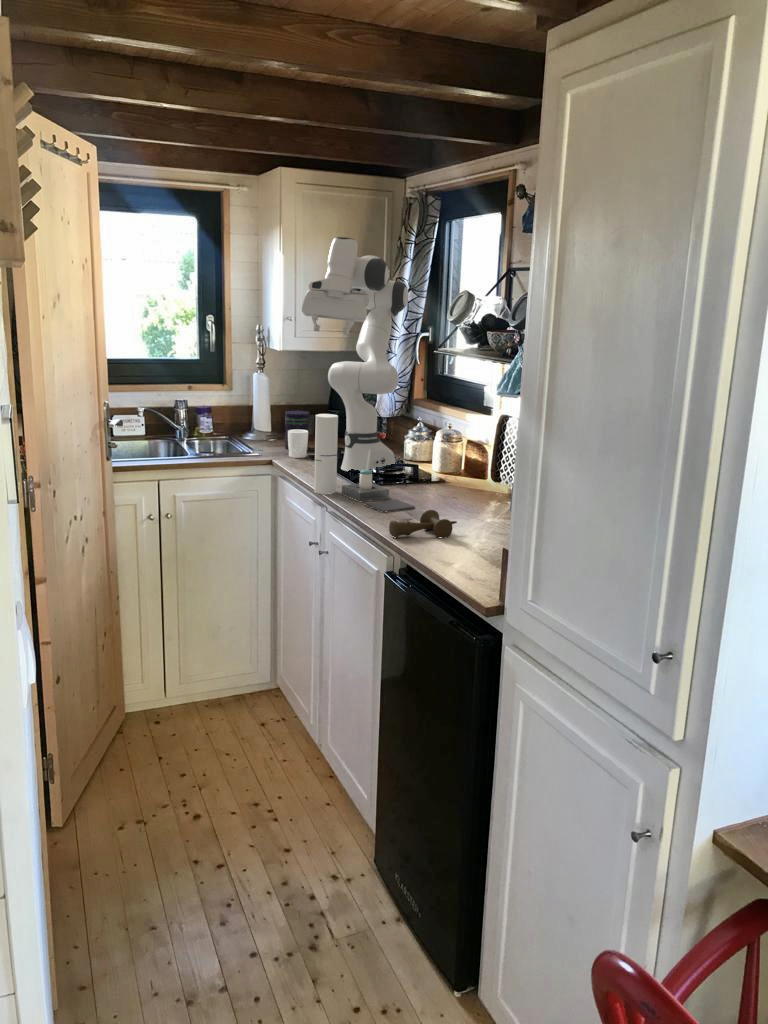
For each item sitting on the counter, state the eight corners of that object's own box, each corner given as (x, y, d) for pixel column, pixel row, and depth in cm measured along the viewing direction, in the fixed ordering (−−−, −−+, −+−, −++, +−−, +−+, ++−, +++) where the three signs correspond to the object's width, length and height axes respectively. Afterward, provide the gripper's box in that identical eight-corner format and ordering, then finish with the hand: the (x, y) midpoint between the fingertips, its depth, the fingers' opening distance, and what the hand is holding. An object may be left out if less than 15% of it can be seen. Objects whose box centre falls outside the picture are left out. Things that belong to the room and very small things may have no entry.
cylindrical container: (333, 495, 270) (334, 418, 263) (311, 493, 271) (312, 416, 265) (338, 490, 277) (340, 414, 270) (317, 488, 278) (319, 413, 272)
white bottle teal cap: (367, 494, 273) (368, 468, 270) (373, 497, 269) (374, 471, 267) (356, 495, 270) (357, 470, 268) (363, 498, 267) (364, 472, 265)
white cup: (283, 455, 328) (283, 430, 325) (300, 453, 333) (300, 428, 330) (295, 459, 322) (295, 433, 319) (311, 457, 327) (312, 431, 324)
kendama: (384, 534, 232) (448, 527, 239) (398, 545, 223) (464, 537, 231) (384, 514, 230) (449, 507, 238) (398, 524, 222) (465, 516, 229)
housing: (370, 490, 277) (370, 482, 277) (388, 498, 269) (389, 489, 268) (341, 494, 271) (342, 485, 271) (359, 502, 263) (360, 492, 262)
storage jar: (281, 447, 344) (281, 410, 340) (303, 445, 349) (303, 409, 345) (290, 451, 336) (290, 414, 332) (312, 450, 340) (313, 413, 336)
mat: (396, 500, 266) (396, 499, 266) (414, 508, 258) (414, 506, 258) (364, 505, 260) (364, 503, 259) (382, 512, 252) (382, 510, 251)
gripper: (372, 295, 261) (365, 338, 261) (309, 288, 265) (302, 331, 265) (368, 288, 255) (361, 333, 255) (304, 282, 259) (297, 326, 259)
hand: (331, 332), depth 260 cm, fingers open, 8 cm apart
